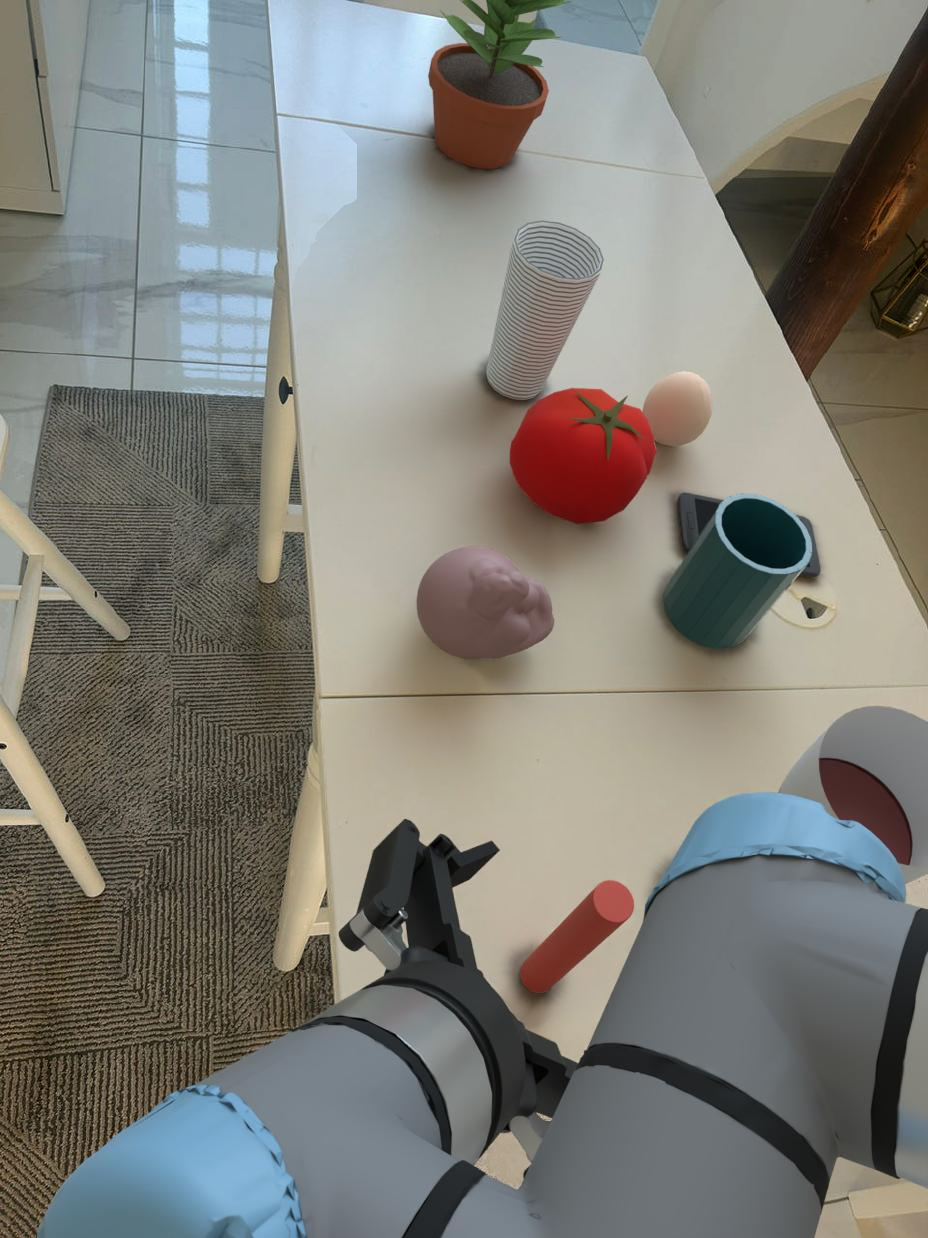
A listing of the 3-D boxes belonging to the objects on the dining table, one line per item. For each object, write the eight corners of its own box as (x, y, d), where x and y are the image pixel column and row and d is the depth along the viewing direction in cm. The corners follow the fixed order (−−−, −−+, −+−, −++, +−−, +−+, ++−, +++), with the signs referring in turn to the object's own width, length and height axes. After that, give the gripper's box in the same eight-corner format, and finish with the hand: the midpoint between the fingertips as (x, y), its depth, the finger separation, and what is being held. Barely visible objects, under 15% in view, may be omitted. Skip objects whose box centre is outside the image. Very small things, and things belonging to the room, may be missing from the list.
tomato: (545, 560, 87) (583, 479, 78) (475, 462, 92) (504, 376, 83) (657, 520, 93) (704, 442, 84) (586, 431, 98) (623, 348, 89)
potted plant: (390, 132, 121) (438, -157, 97) (467, 102, 129) (528, -172, 105) (480, 195, 117) (552, -89, 93) (553, 159, 126) (637, -110, 102)
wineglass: (629, 906, 70) (784, 764, 51) (715, 831, 75) (885, 677, 57) (720, 1014, 67) (919, 904, 49) (803, 927, 72) (1012, 799, 54)
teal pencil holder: (768, 635, 88) (832, 560, 79) (695, 660, 84) (753, 584, 75) (717, 563, 91) (773, 484, 82) (645, 584, 88) (696, 504, 79)
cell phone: (675, 495, 95) (678, 490, 94) (807, 522, 97) (811, 517, 96) (681, 553, 91) (684, 548, 90) (819, 580, 93) (823, 575, 92)
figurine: (541, 690, 79) (588, 605, 69) (405, 673, 77) (434, 582, 67) (537, 602, 84) (581, 511, 74) (410, 583, 82) (438, 487, 72)
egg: (675, 411, 103) (707, 352, 96) (704, 457, 99) (738, 399, 93) (621, 416, 100) (650, 356, 94) (648, 464, 97) (680, 405, 91)
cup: (565, 376, 102) (617, 247, 89) (535, 422, 97) (586, 292, 84) (493, 340, 102) (534, 207, 90) (459, 384, 97) (498, 250, 85)
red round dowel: (560, 984, 66) (642, 913, 54) (530, 999, 65) (606, 929, 53) (544, 951, 67) (620, 873, 55) (514, 964, 66) (585, 889, 54)
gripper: (159, 888, 41) (381, 829, 61) (556, 1461, 33) (663, 1181, 53) (272, 768, 40) (462, 747, 59) (716, 1338, 32) (764, 1096, 52)
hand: (557, 951), depth 56 cm, fingers open, 13 cm apart
